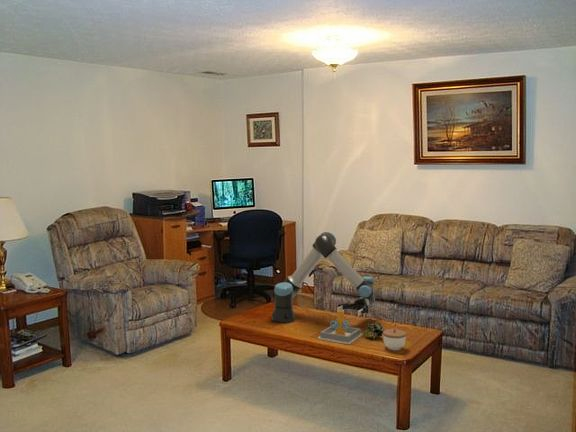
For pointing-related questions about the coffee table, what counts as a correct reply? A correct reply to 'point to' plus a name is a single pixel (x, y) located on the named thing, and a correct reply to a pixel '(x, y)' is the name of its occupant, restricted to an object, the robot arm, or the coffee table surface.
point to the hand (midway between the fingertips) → (347, 311)
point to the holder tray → (348, 338)
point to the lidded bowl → (394, 338)
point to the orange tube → (340, 323)
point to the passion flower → (374, 330)
